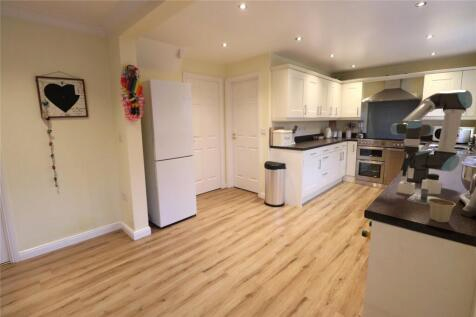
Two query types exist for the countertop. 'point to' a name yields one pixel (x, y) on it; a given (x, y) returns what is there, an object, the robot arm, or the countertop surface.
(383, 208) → the countertop surface
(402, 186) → the cream cube
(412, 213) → the countertop surface
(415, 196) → the hub plate
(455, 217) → the countertop surface
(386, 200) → the countertop surface
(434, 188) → the medicine bottle
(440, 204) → the flower pot
